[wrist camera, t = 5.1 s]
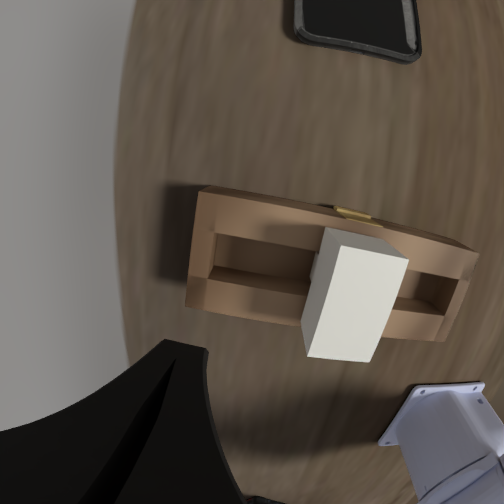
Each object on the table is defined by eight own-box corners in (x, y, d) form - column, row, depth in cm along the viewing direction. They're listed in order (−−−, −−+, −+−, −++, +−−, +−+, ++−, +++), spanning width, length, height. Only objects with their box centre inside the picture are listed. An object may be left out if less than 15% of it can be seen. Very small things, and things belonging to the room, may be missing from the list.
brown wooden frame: (455, 236, 17) (480, 250, 14) (424, 322, 19) (443, 344, 16) (210, 182, 16) (199, 187, 14) (196, 286, 18) (184, 309, 15)
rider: (369, 229, 16) (409, 259, 11) (345, 311, 17) (369, 362, 12) (317, 218, 15) (340, 245, 11) (296, 303, 17) (307, 356, 12)
